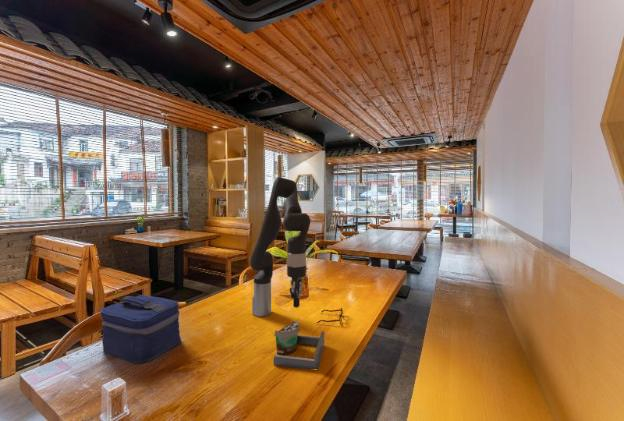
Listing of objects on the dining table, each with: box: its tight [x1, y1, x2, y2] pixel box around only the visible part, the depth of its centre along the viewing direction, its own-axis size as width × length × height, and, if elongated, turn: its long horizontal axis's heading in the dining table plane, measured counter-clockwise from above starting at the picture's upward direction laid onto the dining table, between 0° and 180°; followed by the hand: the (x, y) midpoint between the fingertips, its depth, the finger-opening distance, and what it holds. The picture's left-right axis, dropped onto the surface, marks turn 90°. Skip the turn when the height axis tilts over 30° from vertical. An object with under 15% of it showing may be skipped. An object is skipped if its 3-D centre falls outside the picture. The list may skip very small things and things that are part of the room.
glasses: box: [316, 307, 344, 326], centre depth 142 cm, size 13×13×5 cm
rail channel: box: [273, 331, 325, 370], centre depth 111 cm, size 17×17×6 cm
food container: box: [274, 319, 300, 356], centre depth 113 cm, size 12×6×10 cm, turn 144°
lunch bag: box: [100, 294, 182, 364], centre depth 116 cm, size 31×21×20 cm
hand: (296, 306), depth 110 cm, fingers closed
